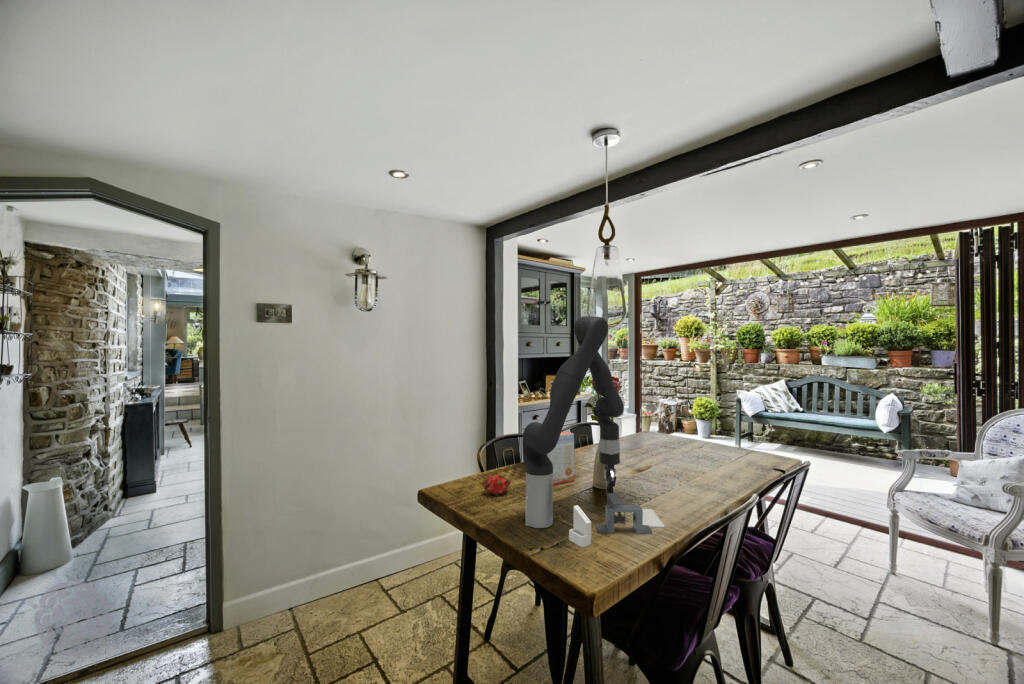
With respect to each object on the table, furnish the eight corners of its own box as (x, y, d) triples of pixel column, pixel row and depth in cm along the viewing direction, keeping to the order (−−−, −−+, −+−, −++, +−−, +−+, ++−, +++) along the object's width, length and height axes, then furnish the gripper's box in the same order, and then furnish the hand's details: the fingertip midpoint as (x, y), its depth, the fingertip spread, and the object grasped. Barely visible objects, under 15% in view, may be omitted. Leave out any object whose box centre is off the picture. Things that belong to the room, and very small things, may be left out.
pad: (640, 527, 139) (640, 526, 139) (629, 509, 153) (629, 508, 153) (665, 527, 139) (665, 526, 139) (652, 510, 153) (652, 509, 153)
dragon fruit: (479, 499, 167) (507, 499, 172) (487, 492, 161) (516, 492, 166) (478, 477, 172) (505, 478, 177) (485, 470, 166) (513, 471, 170)
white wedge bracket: (568, 523, 136) (577, 504, 132) (587, 550, 129) (598, 531, 125) (559, 526, 134) (569, 507, 130) (578, 554, 127) (589, 534, 123)
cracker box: (567, 477, 188) (567, 430, 188) (574, 481, 182) (574, 433, 182) (539, 482, 182) (539, 433, 182) (546, 486, 177) (546, 436, 176)
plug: (613, 523, 142) (614, 506, 142) (606, 508, 155) (606, 491, 155) (626, 524, 142) (626, 506, 142) (617, 508, 155) (617, 491, 155)
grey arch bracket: (598, 533, 135) (598, 509, 135) (596, 527, 139) (596, 504, 139) (652, 533, 134) (652, 510, 134) (648, 528, 138) (648, 505, 138)
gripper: (596, 445, 167) (596, 489, 167) (602, 455, 154) (602, 502, 154) (615, 445, 167) (616, 489, 167) (623, 455, 154) (623, 502, 154)
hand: (609, 495), depth 161 cm, fingers closed
